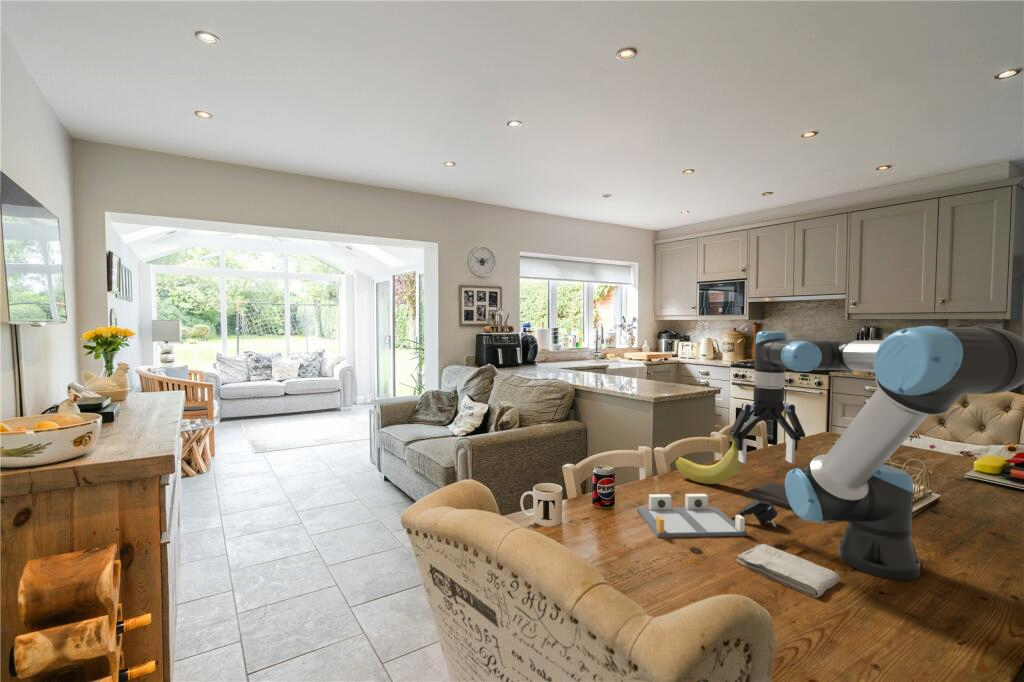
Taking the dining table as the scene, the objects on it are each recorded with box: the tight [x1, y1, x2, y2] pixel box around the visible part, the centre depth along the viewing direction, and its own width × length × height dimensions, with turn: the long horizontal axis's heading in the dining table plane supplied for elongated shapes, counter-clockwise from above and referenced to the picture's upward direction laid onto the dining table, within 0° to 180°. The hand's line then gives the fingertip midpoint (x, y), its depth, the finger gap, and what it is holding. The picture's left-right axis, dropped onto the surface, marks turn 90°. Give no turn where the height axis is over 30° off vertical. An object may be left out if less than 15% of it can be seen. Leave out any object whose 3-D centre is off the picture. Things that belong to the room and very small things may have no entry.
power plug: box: [729, 499, 778, 528], centre depth 133 cm, size 6×8×12 cm
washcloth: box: [736, 543, 841, 598], centre depth 107 cm, size 12×18×3 cm, turn 36°
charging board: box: [636, 493, 748, 538], centre depth 133 cm, size 17×24×5 cm
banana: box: [674, 435, 743, 485], centre depth 165 cm, size 23×6×20 cm, turn 47°
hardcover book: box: [745, 481, 793, 512], centre depth 148 cm, size 16×23×2 cm
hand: (766, 461), depth 133 cm, fingers open, 13 cm apart
